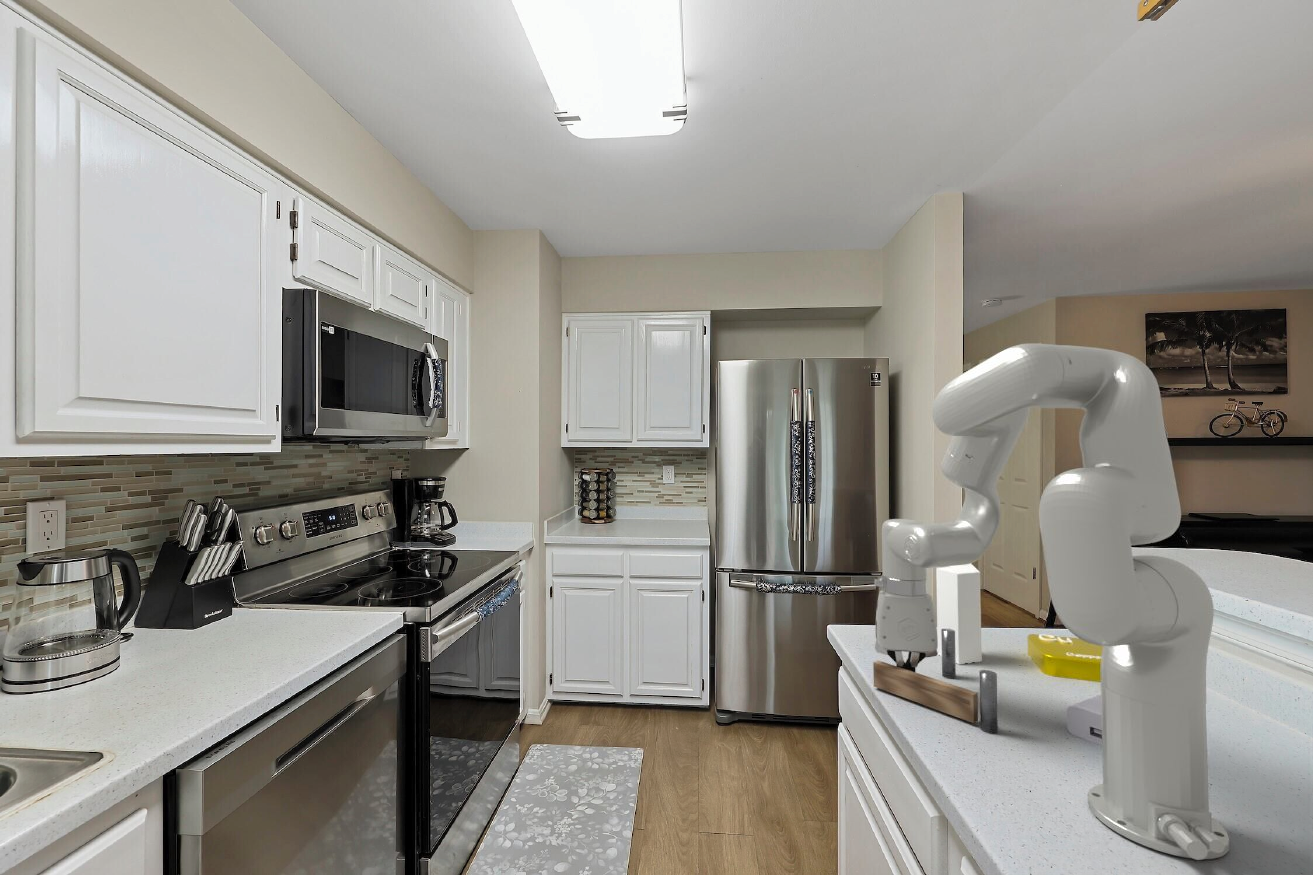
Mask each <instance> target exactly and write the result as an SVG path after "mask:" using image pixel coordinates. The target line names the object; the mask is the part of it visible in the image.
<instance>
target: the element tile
mask: <svg viewBox="0 0 1313 875" xmlns="http://www.w3.org/2000/svg"><path fill="white" fill-rule="evenodd" d="M1102 651H1103V646H1098V645H1094V644H1090V643H1088V642H1085V641H1083V640H1081V639H1079V638H1078V637H1067V636H1056V635H1051V634H1046V633H1045V634H1044V633H1043V634H1038V633H1037V634H1035V633H1030V634H1029V635H1027V655H1028V656H1029V657H1030V658H1031V660H1032V659H1033V660H1032V661H1033V663H1034V664H1035V663H1036V664H1035V666H1037V668H1038V669H1039V671H1040V672H1041V673H1043V674H1044V675H1047V676H1050V677H1055V678H1063V679H1073V680H1080V681H1089V682H1096V683H1101V657H1102Z"/></svg>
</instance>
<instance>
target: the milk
mask: <svg viewBox="0 0 1313 875" xmlns="http://www.w3.org/2000/svg"><path fill="white" fill-rule="evenodd" d="M935 574H936V578H935V579H936V626H937V637H938V647H937V653H938V654H937V656H939V655H940V656H939V657H941V656H942V637H941V629H952V630H954V631H955V658H956V663H957V664H956V665H959V666H960V665H965V663H968V664H973V663H972V662H975V663H981V662H982V660H983V659H982V658H983V656H982V614H981V613H982V611H981V610H982V609H981V608H982V607H981V605H982V604H981V600H982V599H981V571H980V570H978V568H976V566H975V565H973V563H970V564H965V565H954V566H944V567H936V573H935Z"/></svg>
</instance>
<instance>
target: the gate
mask: <svg viewBox="0 0 1313 875" xmlns="http://www.w3.org/2000/svg"><path fill="white" fill-rule="evenodd" d="M872 663H873V664H872V665H873V666H872V667H873V687H875V688H877V689H879V690H882V691H886V692H887V693H891V694H894V695H895V696H899V697H902V698H904V699H907V700H910V701H912V702H916V703H918V704H921V705H923V706H926V707H928V708H931V709H934V710H936V711H939V712H942V713H945V714H948V715H949V716H950V715H951V716H953V717H956V718H959V719H961V720H964V721H967V722H969V723H972V724H975V723H977V722H978V721H979V697H978V696H979V693H978V692H976V691H974V690H970V689H968V688H965V687H961V686H959V685H955V684H951V683H949V682H946V681H943V680H940V679H936V678H933V677H930V676H928V675H925V674H921V673H919V672H916V671H915V672H916V673H915V672H912V671H909V670H906V669H903V668H900V667H897V666H896V665H893V664H891V663H887V662H884V661H881V660H878V659H877V660H875V661H873V662H872Z"/></svg>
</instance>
